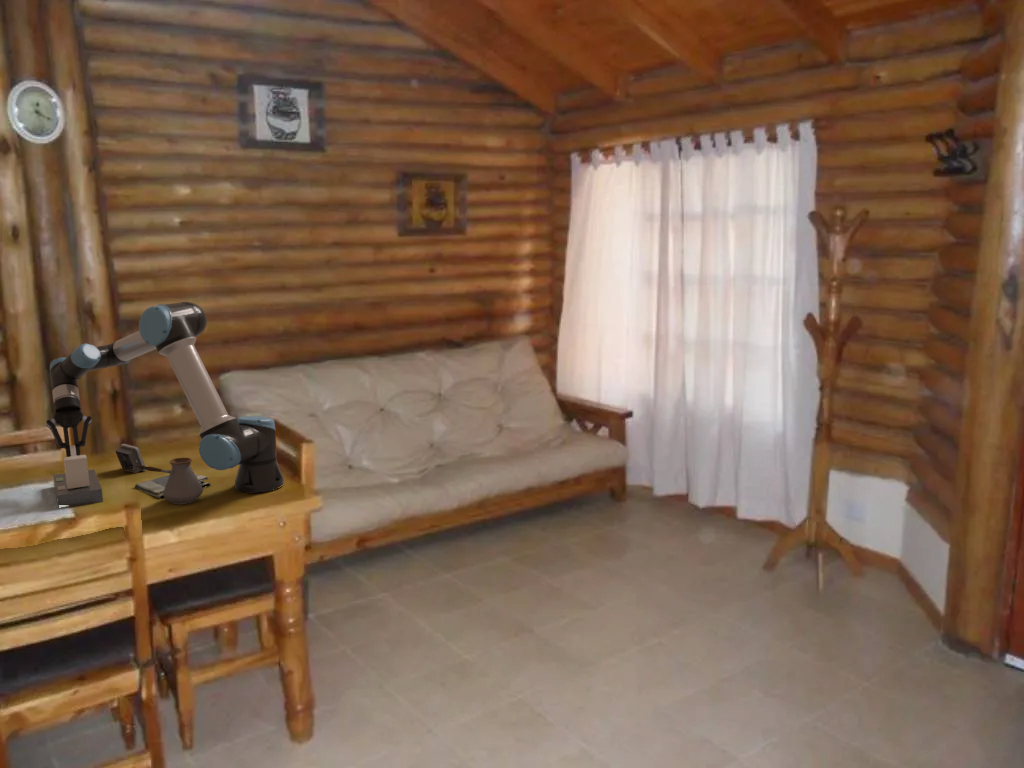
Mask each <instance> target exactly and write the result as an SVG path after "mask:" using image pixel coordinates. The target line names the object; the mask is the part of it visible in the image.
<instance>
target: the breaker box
mask: <svg viewBox="0 0 1024 768" xmlns="http://www.w3.org/2000/svg"><path fill="white" fill-rule="evenodd" d="M88 475H89V485H90V486H85V487H78V488H71V489H67V483H66V474H65V473H64V472H63V473H57V474H52V477H53V486H54V487H55V488H54V491H55V497H56V496H57V497H56V502H57V501H58V502H57V505H69V506H71V507H76V506H82V505H89V504H95V503H101V502H104V498H103V497H104V496H103V488H102V486H101V483H100V480H99V478H98V476H97V473H96V470H95V468H94V469H88Z"/></svg>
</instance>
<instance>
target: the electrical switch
mask: <svg viewBox="0 0 1024 768" xmlns="http://www.w3.org/2000/svg"><path fill="white" fill-rule="evenodd" d="M115 454H116V457H117V459H118V461H119V463H120V466H121V469H122V470H124V471H126V472H130V473H134V474H137V473H139V472H141V471H142V472H145V471H147V470H145V469H144V470H142V469H141V468H140V469H139V470H138V468H136V467H135V466H145V467H147V466H146V464H145V461H144V459H143V455H142V454H141V450H140V448H139V447H137V446H134V445H130V444H126V443H122V444H120V447H119V448H117V449H116V450H115ZM134 467H135V468H134ZM133 468H134V471H133ZM137 471H138V472H137ZM135 472H136V473H135Z"/></svg>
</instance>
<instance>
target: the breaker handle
mask: <svg viewBox="0 0 1024 768" xmlns="http://www.w3.org/2000/svg"><path fill="white" fill-rule="evenodd" d="M63 461H64V462H63V464H64V472H65V474H66V483H67V489H71V488H78V487H85V486H90V485H89V475H88V470H89V467H88V457H87V455H86V454H80V455H79V456H71V457H67V456H63Z"/></svg>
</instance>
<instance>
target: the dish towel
mask: <svg viewBox="0 0 1024 768" xmlns="http://www.w3.org/2000/svg"><path fill="white" fill-rule="evenodd" d="M194 474H195V475H196V477H197V479H198V481H199V482H200V484H201V486H202V488H203V487H205V486H210V487H211V486H212V485H211V482H204V481H207V480H209V477H208V476H205V475H200V474H196V473H194ZM169 475H170V474H168V475H163V476H159V477H156V478H153V479H149V480H145V481H141V482H139V483H135V485H134V488H135V489H137V490H140V491H142V492H143V493H145V494H147V495H150V496H151V495H152V497H153V496H154V497H153V498H156V499H158V498H159V500H161V499H165V498H164V496H163V492H164V489H165V486H166V484H167V481H168V478H169ZM203 489H204V488H203Z"/></svg>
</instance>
